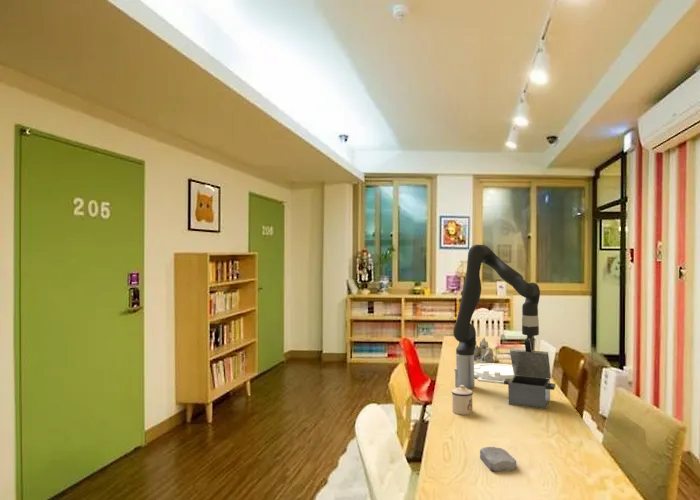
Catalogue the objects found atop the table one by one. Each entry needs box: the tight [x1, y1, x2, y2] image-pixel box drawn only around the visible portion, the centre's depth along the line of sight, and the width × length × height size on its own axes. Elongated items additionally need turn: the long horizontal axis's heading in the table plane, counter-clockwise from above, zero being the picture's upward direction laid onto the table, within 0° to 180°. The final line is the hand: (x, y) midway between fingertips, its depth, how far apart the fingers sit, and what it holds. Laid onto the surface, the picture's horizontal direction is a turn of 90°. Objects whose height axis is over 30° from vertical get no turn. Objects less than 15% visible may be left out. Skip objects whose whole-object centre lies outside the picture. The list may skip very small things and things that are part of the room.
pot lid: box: [509, 338, 552, 380], centre depth 234 cm, size 17×25×3 cm
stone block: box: [479, 446, 517, 473], centre depth 163 cm, size 12×5×10 cm
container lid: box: [474, 362, 519, 385], centre depth 283 cm, size 30×35×6 cm
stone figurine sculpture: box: [474, 337, 495, 364], centre depth 321 cm, size 16×16×15 cm
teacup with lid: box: [451, 385, 474, 416], centre depth 219 cm, size 12×9×12 cm
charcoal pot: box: [504, 375, 556, 410], centre depth 231 cm, size 22×16×10 cm
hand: (530, 361), depth 235 cm, fingers closed
